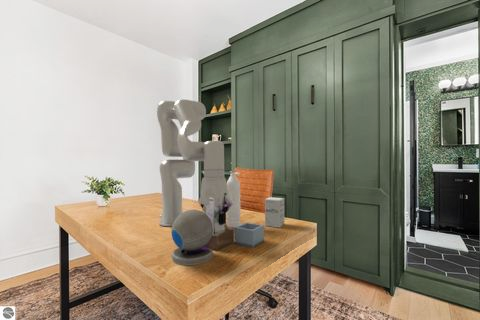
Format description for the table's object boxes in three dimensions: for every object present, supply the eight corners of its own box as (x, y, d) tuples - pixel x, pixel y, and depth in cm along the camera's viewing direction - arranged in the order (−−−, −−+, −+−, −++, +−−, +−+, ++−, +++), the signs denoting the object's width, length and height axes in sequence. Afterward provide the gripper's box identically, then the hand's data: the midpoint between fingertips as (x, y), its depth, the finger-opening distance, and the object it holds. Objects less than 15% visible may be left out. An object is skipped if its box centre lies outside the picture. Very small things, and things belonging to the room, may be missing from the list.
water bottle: (236, 228, 106) (235, 173, 106) (224, 226, 109) (223, 173, 109) (245, 223, 113) (244, 172, 113) (233, 222, 116) (233, 172, 116)
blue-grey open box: (234, 243, 87) (234, 227, 87) (246, 237, 93) (246, 222, 93) (253, 247, 82) (253, 230, 82) (264, 241, 89) (263, 225, 89)
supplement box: (264, 226, 109) (264, 199, 109) (270, 222, 115) (270, 196, 115) (279, 228, 105) (279, 200, 105) (285, 224, 112) (284, 197, 112)
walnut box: (196, 245, 85) (195, 231, 85) (213, 237, 94) (213, 225, 94) (217, 250, 80) (216, 236, 80) (233, 242, 88) (233, 228, 88)
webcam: (220, 256, 76) (220, 209, 76) (186, 269, 66) (185, 216, 66) (197, 246, 85) (196, 204, 85) (164, 256, 75) (163, 210, 76)
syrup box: (216, 231, 91) (215, 194, 91) (226, 234, 87) (225, 195, 87) (204, 235, 87) (203, 195, 87) (214, 238, 83) (213, 197, 83)
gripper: (190, 174, 88) (190, 221, 88) (226, 175, 79) (227, 228, 79) (203, 173, 95) (204, 217, 95) (239, 174, 85) (239, 223, 85)
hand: (214, 222), depth 87 cm, fingers closed on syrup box, 6 cm apart
